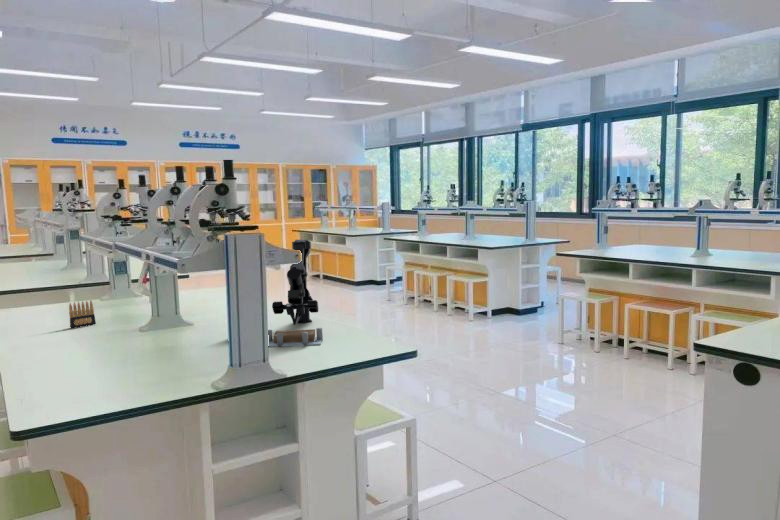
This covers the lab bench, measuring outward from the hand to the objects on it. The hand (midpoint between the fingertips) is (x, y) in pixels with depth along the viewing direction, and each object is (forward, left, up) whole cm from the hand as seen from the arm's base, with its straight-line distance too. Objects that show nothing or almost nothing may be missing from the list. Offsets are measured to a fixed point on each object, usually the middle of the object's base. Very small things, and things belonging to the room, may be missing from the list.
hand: (294, 324), depth 237 cm
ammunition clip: (-73, -85, -7) cm, 112 cm away
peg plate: (+4, -1, -7) cm, 8 cm away
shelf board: (-2, +1, -4) cm, 5 cm away
